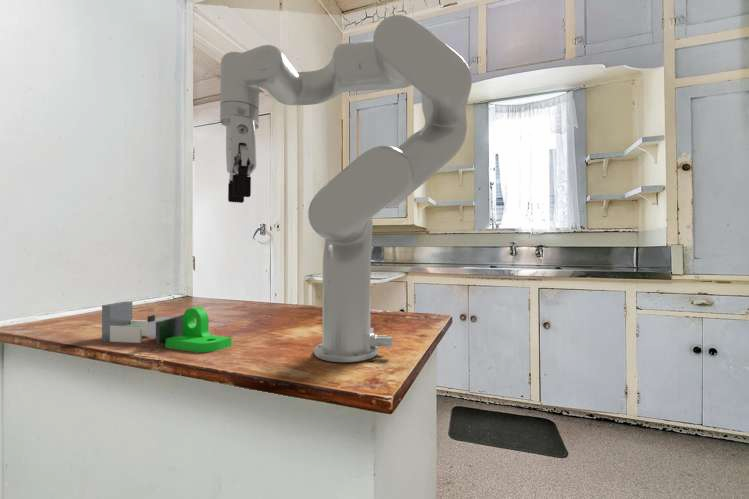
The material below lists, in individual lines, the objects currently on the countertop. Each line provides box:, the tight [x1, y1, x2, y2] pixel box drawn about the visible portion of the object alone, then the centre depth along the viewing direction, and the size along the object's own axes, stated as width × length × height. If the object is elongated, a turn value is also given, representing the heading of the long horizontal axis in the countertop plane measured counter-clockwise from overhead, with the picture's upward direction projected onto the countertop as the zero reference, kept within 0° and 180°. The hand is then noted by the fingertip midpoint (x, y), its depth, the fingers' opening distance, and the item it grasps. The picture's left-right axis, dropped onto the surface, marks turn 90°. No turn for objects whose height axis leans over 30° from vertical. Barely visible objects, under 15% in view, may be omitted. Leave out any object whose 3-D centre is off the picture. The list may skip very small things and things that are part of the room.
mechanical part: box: [165, 306, 232, 353], centre depth 73 cm, size 12×6×8 cm, turn 69°
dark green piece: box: [146, 314, 183, 346], centre depth 77 cm, size 7×10×5 cm, turn 172°
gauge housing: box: [101, 301, 147, 344], centre depth 79 cm, size 9×6×8 cm, turn 82°
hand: (238, 199), depth 72 cm, fingers open, 9 cm apart
